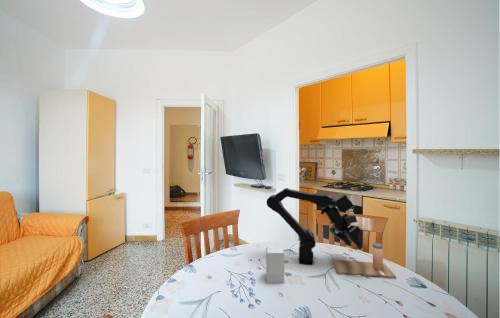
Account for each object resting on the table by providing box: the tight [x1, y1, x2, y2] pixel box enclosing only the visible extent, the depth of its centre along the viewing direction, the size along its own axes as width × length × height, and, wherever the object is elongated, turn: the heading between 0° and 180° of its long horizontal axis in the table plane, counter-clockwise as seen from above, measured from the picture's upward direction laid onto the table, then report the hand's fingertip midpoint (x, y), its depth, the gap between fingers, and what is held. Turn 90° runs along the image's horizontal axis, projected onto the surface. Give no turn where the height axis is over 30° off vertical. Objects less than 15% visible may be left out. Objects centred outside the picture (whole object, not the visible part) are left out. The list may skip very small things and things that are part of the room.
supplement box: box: [265, 245, 285, 284], centre depth 95 cm, size 7×7×13 cm
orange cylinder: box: [372, 242, 384, 271], centre depth 100 cm, size 4×4×11 cm
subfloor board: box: [331, 259, 397, 279], centre depth 102 cm, size 24×12×1 cm, turn 79°
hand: (354, 245), depth 105 cm, fingers open, 9 cm apart
